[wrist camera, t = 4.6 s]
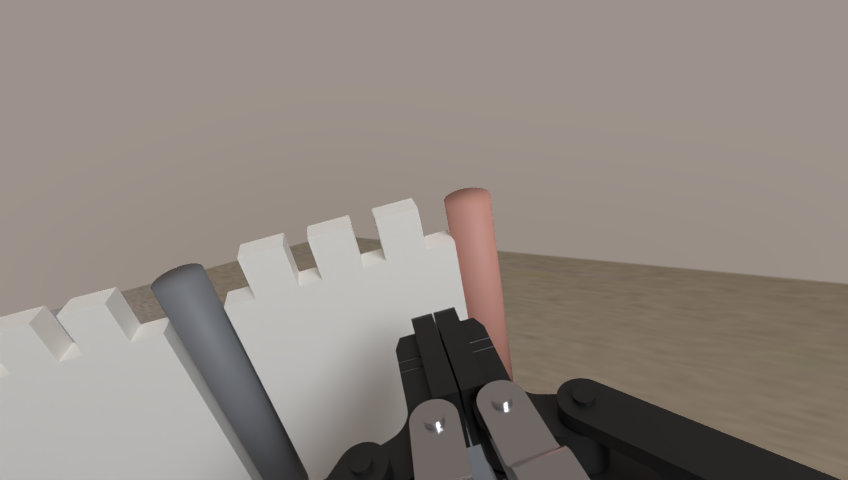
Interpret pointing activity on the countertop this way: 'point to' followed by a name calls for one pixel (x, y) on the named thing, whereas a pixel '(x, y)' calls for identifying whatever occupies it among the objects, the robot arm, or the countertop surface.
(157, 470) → the fixed fence panel
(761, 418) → the countertop surface
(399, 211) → the hinged fence panel
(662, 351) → the countertop surface
